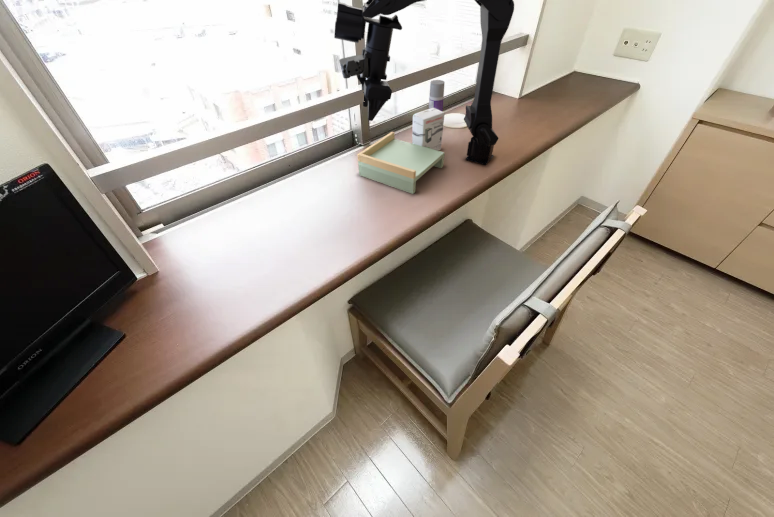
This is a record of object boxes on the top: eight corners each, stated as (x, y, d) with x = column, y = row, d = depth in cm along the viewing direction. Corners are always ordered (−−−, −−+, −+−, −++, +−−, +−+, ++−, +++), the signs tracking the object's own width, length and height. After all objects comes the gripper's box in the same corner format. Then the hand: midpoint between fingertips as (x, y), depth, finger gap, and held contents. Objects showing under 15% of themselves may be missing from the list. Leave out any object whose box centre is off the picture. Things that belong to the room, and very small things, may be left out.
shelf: (443, 166, 99) (445, 145, 95) (413, 194, 89) (413, 172, 85) (392, 151, 107) (391, 131, 102) (359, 175, 97) (357, 154, 92)
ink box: (421, 158, 103) (423, 119, 95) (411, 152, 106) (412, 114, 98) (441, 149, 107) (445, 111, 99) (431, 144, 110) (433, 106, 101)
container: (442, 126, 119) (446, 80, 109) (439, 131, 116) (443, 85, 106) (429, 124, 120) (432, 79, 110) (425, 130, 117) (428, 83, 107)
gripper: (339, 31, 84) (334, 96, 95) (348, 52, 72) (340, 125, 82) (382, 39, 87) (372, 101, 98) (398, 61, 75) (385, 129, 85)
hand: (367, 113), depth 91 cm, fingers open, 9 cm apart
